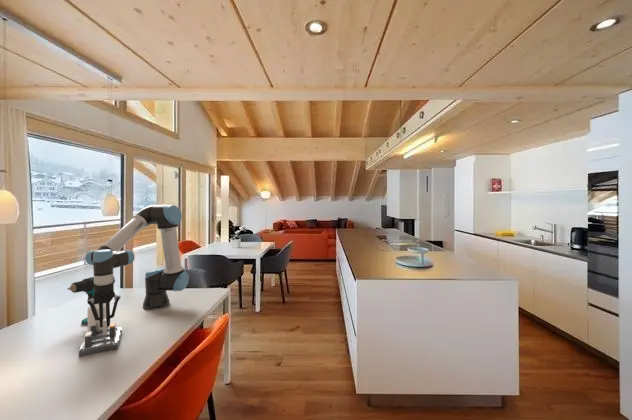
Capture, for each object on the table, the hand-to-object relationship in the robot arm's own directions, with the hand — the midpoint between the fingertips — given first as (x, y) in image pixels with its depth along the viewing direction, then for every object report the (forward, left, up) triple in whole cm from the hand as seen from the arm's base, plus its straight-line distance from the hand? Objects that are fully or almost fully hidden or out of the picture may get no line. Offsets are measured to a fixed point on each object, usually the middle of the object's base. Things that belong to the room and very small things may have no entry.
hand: (105, 333), depth 143 cm
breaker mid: (-3, 0, -2) cm, 3 cm away
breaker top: (+5, +7, -2) cm, 9 cm away
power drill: (+10, -34, -5) cm, 36 cm away
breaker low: (+5, -6, -2) cm, 9 cm away
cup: (+5, -15, -5) cm, 16 cm away
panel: (+1, 0, -5) cm, 5 cm away
